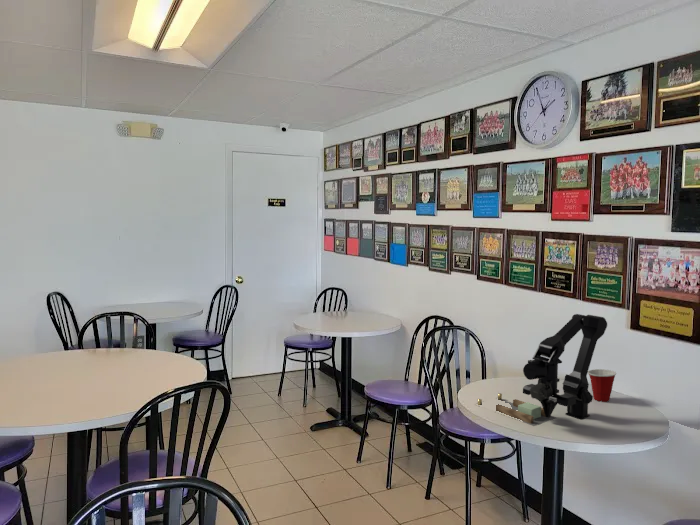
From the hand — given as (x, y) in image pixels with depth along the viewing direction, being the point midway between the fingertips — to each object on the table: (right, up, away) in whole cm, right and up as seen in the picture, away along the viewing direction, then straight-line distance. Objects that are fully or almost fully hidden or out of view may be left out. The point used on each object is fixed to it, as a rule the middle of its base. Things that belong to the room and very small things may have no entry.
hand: (547, 417), depth 196 cm
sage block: (-5, -1, +7) cm, 8 cm away
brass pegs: (-16, 0, +22) cm, 27 cm away
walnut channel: (-6, -1, +9) cm, 11 cm away
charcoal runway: (-9, -1, +12) cm, 15 cm away
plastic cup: (+32, 0, +26) cm, 41 cm away
